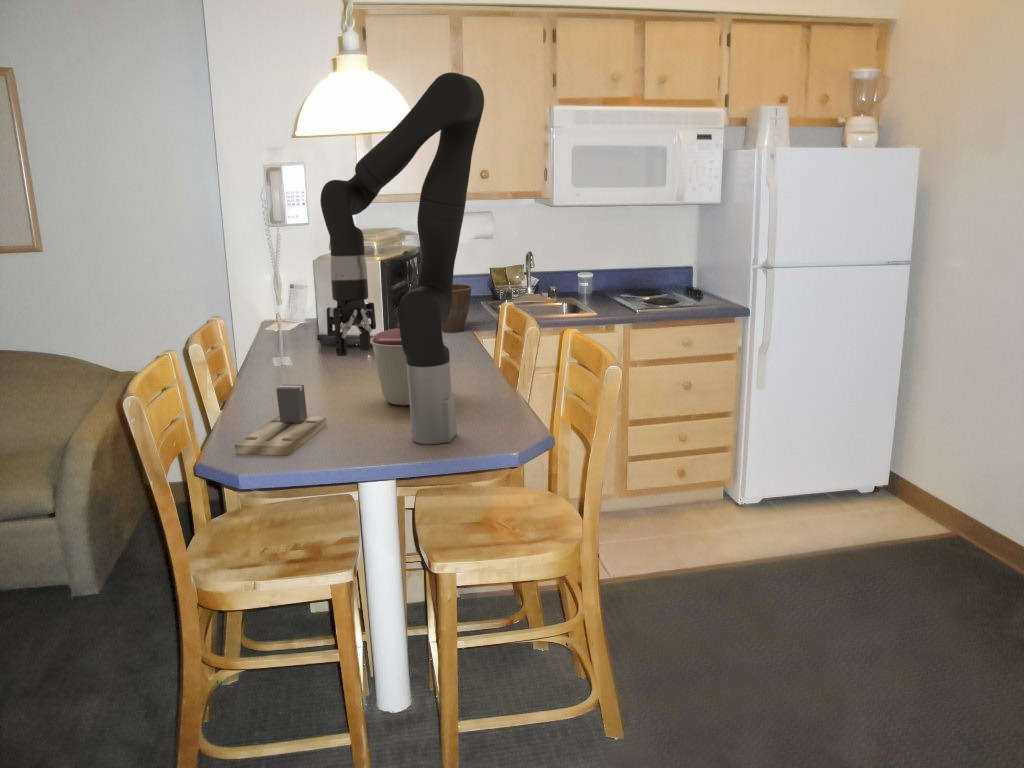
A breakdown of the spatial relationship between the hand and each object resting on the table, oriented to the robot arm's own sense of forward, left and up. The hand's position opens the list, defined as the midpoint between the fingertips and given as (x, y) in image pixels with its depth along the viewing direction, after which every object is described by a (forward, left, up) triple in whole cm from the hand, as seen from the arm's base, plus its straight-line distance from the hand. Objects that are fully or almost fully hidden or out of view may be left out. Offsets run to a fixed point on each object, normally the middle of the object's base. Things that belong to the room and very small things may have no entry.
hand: (354, 353), depth 168 cm
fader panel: (+18, +2, -19) cm, 26 cm away
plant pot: (+9, -116, -20) cm, 118 cm away
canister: (-2, -29, -20) cm, 35 cm away
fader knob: (+18, -4, -17) cm, 25 cm away
